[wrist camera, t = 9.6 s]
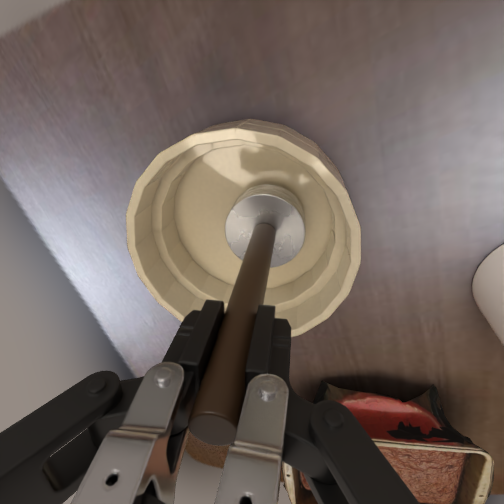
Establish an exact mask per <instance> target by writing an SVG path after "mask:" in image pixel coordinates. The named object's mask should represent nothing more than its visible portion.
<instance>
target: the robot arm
mask: <svg viewBox="0 0 504 504" xmlns="http://www.w3.org/2000/svg"><path fill="white" fill-rule="evenodd" d="M275 310H276V306H273V305H262V304H259V305H258V310H257V315H256V320H255V325H254V330H253V334H252V339H251V344H250V349H249V354H248V359H247V364H246V369H245V389H246V395H245V399H244V403H243V407H242V411H241V415H240V419H239V423H238V427H237V431H236V435H235V439H234V442H233V444H231V445H230V447H229V449H228V453H227V456H226V460H225V464H224V468H223V472H222V476H221V480H220V483H219V487H218V491H217V495H216V499H215V503H214V504H278V497H279V488H280V479H281V469H282V462H284V463H286V464H288V465H290V466H291V467H293V468H295V469H297V470H299V471H301V472H302V473H304V476H305V479H306V481H307V483H308V485H309V487H310V489H311V491H312V493H313V495H314V497H315V499H316V501H317V503H318V504H420V503H419V502H418V500H417V499H416V498H415V496H414V495H413V494H412V492H411V491H410V490H409V488H408V487H407V486H406V484H405V483H404V482H403V480H402V479H401V478H400V476H399V475H398V474H397V472H396V471H395V470H394V468H393V467H392V466H391V464H390V463H389V462H388V460H387V459H386V458H385V456H384V455H383V454H382V452H381V451H380V450H379V448H378V447H377V445H376V444H375V443H374V442H373V440H372V439H371V437H370V436H369V435H368V433H367V432H366V431H365V429H364V428H363V427H362V425H361V424H360V423H359V421H358V420H357V419H356V417H355V416H354V415H353V413H352V412H351V411H350V410H349V409H348V408H347V407H346V406H344V405H343V404H341V403H339V402H336V401H332V400H324V401H320V402H318V403H317V404H313V403H311V402H309V401H307V400H305V399H303V398H301V397H300V396H298V395H297V394H296V393H295V392H294V390H293V389H292V387H291V385H290V382H289V368H290V347H291V326H290V324H289V322H288V320H287V319H282V318H275ZM224 314H225V310H224V301H220V300H209V299H207V300H206V301H205V303H204V305H203V307H202V309H201V311H200V310H193V311H191V312H190V313H189V314H188V315H187V316H185V318H184V320H183V322H182V323H181V325H180V328H179V329H178V331H177V333H176V335H175V337H174V339H173V341H172V343H171V345H170V347H169V349H168V351H167V353H166V355H165V357H164V359H163V361H162V363H159V364H157V365H155V366H153V367H152V368H150V369H149V370H148V372H147V373H146V374H145V376H143V377H140V378H135V379H129V380H122V381H120V380H119V377H118V375H117V374H115V373H114V372H111V371H100V372H97V373H94V374H91V375H90V376H88V377H86V378H85V379H83V380H82V381H80V382H79V383H77V384H75V385H74V386H72V387H71V388H69V389H68V390H66V391H65V392H63V393H62V394H60V395H58V396H57V397H55V398H54V399H52V400H51V401H49V402H48V403H46V404H44V405H43V406H41V407H40V408H38V409H37V410H35V411H34V412H32V413H31V414H29V415H27V416H26V417H24V418H23V419H21V420H20V421H18V422H17V423H15V424H13V425H12V426H10V427H9V428H7V429H6V430H4V431H3V432H1V433H0V504H62V503H63V502H65V501H66V500H67V499H68V498H69V497H70V496H71V495H73V494H74V493H75V492H76V491H77V492H76V494H75V496H74V498H73V500H72V502H71V504H174V498H175V486H176V480H177V476H178V472H179V469H180V465H181V461H182V458H183V454H184V450H185V447H186V443H187V439H188V436H189V432H190V430H189V428H188V419H189V416H190V413H191V410H192V407H193V404H194V401H195V398H196V395H197V393H198V390H199V387H200V384H201V381H202V378H203V375H204V372H205V369H206V366H207V363H208V360H209V358H210V355H211V352H212V349H213V346H214V343H215V340H216V337H217V334H218V331H219V328H220V325H221V323H222V320H223V317H224ZM86 428H87V429H86ZM85 429H86V430H85ZM84 430H85V431H84ZM82 431H83V432H82ZM81 432H82V433H81ZM80 433H81V434H80ZM79 434H80V435H79ZM77 435H78V436H77ZM76 436H77V437H76ZM75 437H76V438H75ZM73 438H74V439H73ZM72 439H73V440H72ZM71 440H72V441H71ZM69 441H71V442H69ZM68 442H69V443H68ZM67 443H68V444H67ZM65 444H67V445H65ZM64 445H65V446H64ZM62 446H64V447H62ZM61 447H62V448H61ZM60 448H61V449H60ZM59 449H60V450H59ZM57 450H58V451H57ZM56 451H57V452H56ZM55 452H56V453H55ZM54 453H55V454H54ZM52 454H53V455H52ZM51 455H52V456H51ZM50 456H51V457H50Z"/></svg>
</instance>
